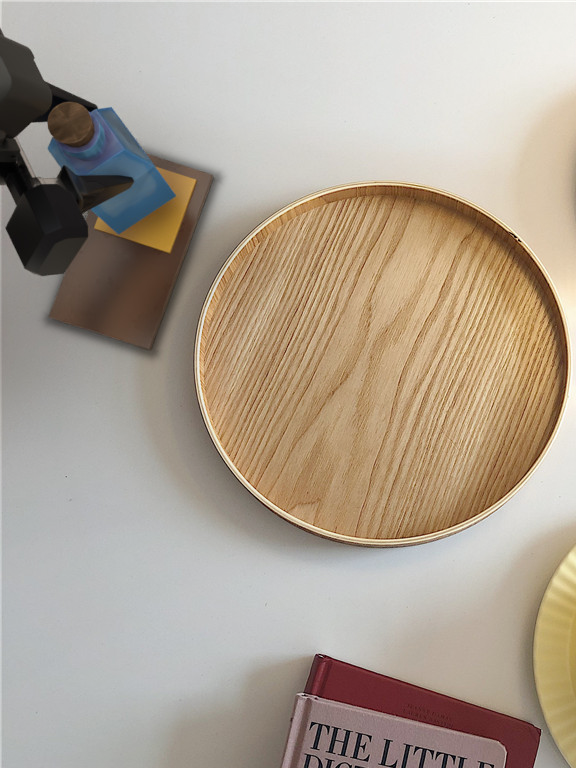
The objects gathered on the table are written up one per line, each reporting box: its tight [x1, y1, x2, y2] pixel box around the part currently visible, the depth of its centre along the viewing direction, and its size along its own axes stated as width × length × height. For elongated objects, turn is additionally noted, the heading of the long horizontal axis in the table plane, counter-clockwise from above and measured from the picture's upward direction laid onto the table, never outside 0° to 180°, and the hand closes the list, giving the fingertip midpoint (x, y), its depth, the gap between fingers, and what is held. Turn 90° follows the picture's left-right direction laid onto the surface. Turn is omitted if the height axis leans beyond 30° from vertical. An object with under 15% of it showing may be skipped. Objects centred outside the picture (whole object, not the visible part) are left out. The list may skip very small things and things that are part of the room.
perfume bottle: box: [46, 102, 176, 235], centre depth 56 cm, size 6×6×12 cm
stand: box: [48, 153, 215, 351], centre depth 66 cm, size 10×18×1 cm, turn 162°
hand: (114, 147), depth 56 cm, fingers closed on perfume bottle, 6 cm apart
